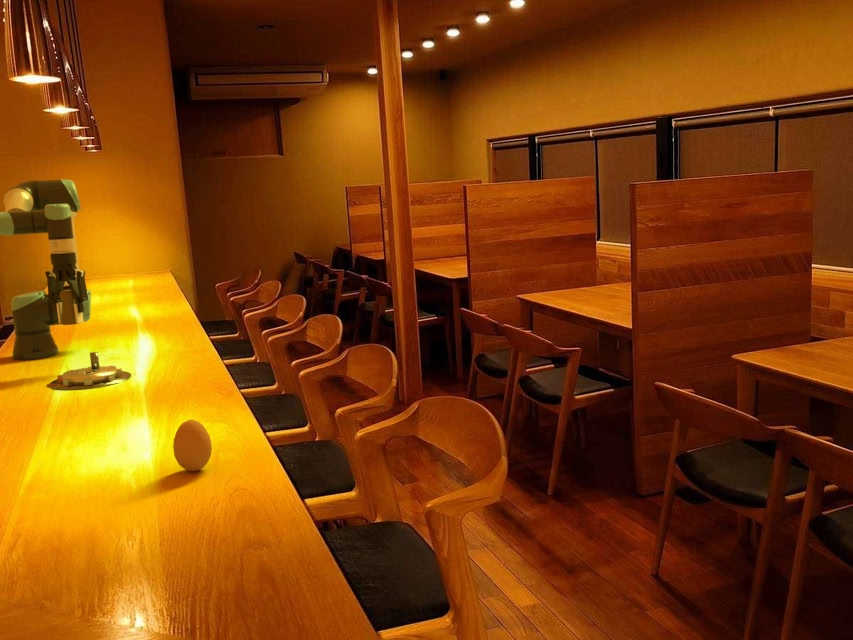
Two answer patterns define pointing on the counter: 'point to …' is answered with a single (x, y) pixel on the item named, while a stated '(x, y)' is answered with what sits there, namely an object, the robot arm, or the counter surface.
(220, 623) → the counter surface
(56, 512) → the counter surface
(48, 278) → the robot arm
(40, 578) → the counter surface
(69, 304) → the pepper mill
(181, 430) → the egg
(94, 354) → the sprocket
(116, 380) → the plate
